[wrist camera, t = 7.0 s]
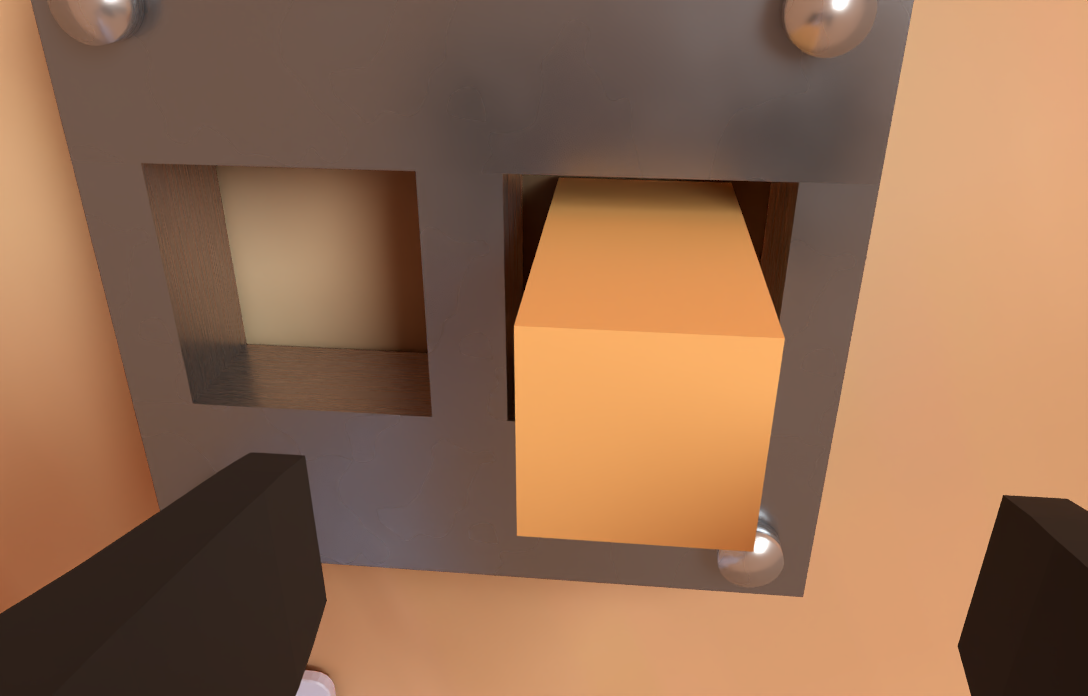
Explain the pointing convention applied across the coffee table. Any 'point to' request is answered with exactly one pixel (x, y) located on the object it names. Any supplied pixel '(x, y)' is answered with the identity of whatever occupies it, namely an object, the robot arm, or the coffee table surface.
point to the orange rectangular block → (644, 368)
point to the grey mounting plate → (464, 234)
